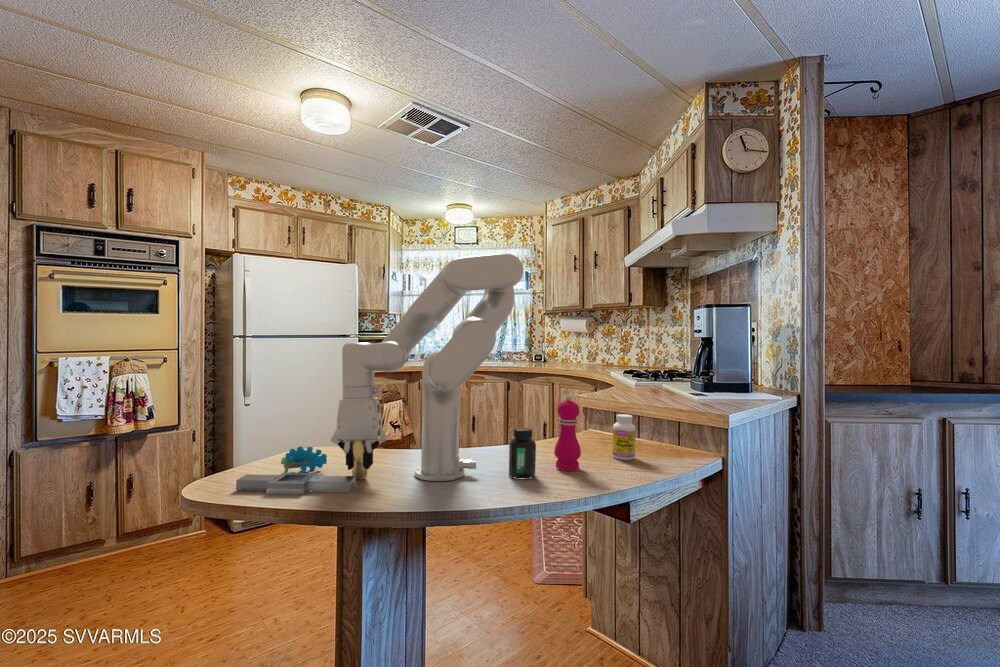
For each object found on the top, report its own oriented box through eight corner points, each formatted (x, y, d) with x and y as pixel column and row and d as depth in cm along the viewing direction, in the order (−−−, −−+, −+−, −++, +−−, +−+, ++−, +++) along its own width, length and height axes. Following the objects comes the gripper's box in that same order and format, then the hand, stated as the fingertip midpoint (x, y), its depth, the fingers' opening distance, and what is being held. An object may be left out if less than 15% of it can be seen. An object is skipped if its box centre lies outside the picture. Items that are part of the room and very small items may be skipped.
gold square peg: (368, 474, 116) (368, 434, 116) (365, 478, 113) (364, 437, 113) (354, 474, 116) (354, 434, 116) (350, 479, 113) (349, 437, 113)
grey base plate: (357, 483, 111) (357, 473, 111) (347, 495, 103) (347, 484, 103) (250, 482, 110) (250, 472, 110) (231, 493, 102) (231, 482, 102)
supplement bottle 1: (524, 481, 115) (525, 432, 116) (503, 475, 120) (504, 428, 120) (540, 476, 120) (541, 429, 121) (519, 470, 125) (520, 425, 125)
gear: (333, 462, 123) (320, 441, 116) (329, 483, 119) (315, 463, 112) (291, 467, 123) (275, 447, 116) (285, 489, 118) (269, 468, 111)
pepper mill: (584, 467, 130) (586, 394, 130) (574, 473, 123) (575, 397, 124) (560, 463, 133) (562, 392, 134) (549, 468, 127) (550, 395, 128)
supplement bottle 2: (612, 460, 138) (613, 416, 138) (611, 454, 145) (612, 413, 145) (636, 461, 137) (637, 417, 137) (633, 456, 144) (634, 414, 144)
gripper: (395, 390, 119) (396, 463, 118) (329, 391, 118) (330, 464, 118) (389, 394, 111) (390, 472, 111) (319, 395, 111) (319, 473, 111)
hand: (359, 467), depth 114 cm, fingers closed on gold square peg, 3 cm apart
